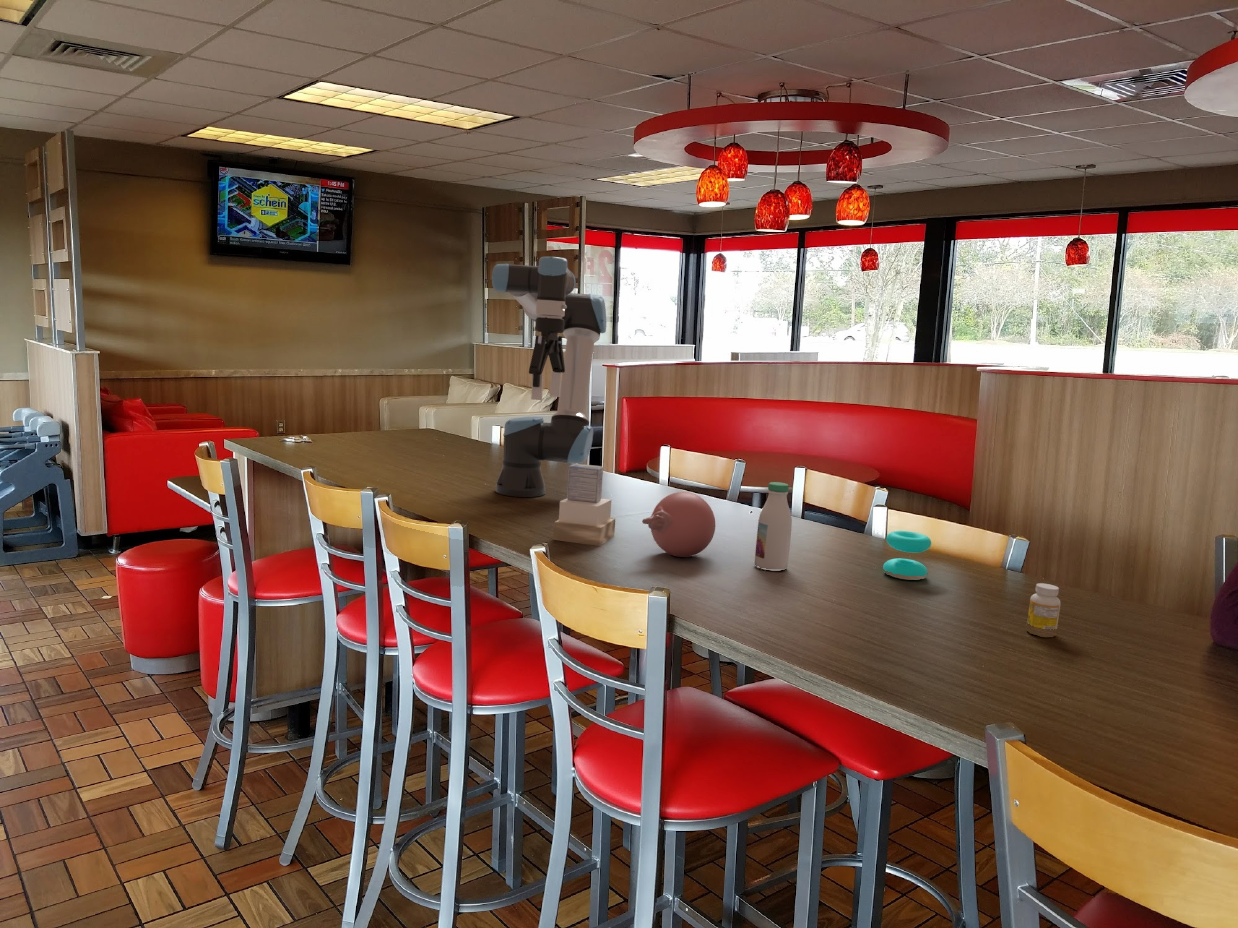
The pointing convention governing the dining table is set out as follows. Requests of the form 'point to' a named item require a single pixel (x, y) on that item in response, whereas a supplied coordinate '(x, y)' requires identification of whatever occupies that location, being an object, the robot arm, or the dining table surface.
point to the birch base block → (584, 532)
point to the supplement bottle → (1044, 607)
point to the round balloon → (682, 524)
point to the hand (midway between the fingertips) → (546, 398)
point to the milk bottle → (774, 529)
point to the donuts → (907, 544)
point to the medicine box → (585, 483)
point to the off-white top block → (585, 512)
